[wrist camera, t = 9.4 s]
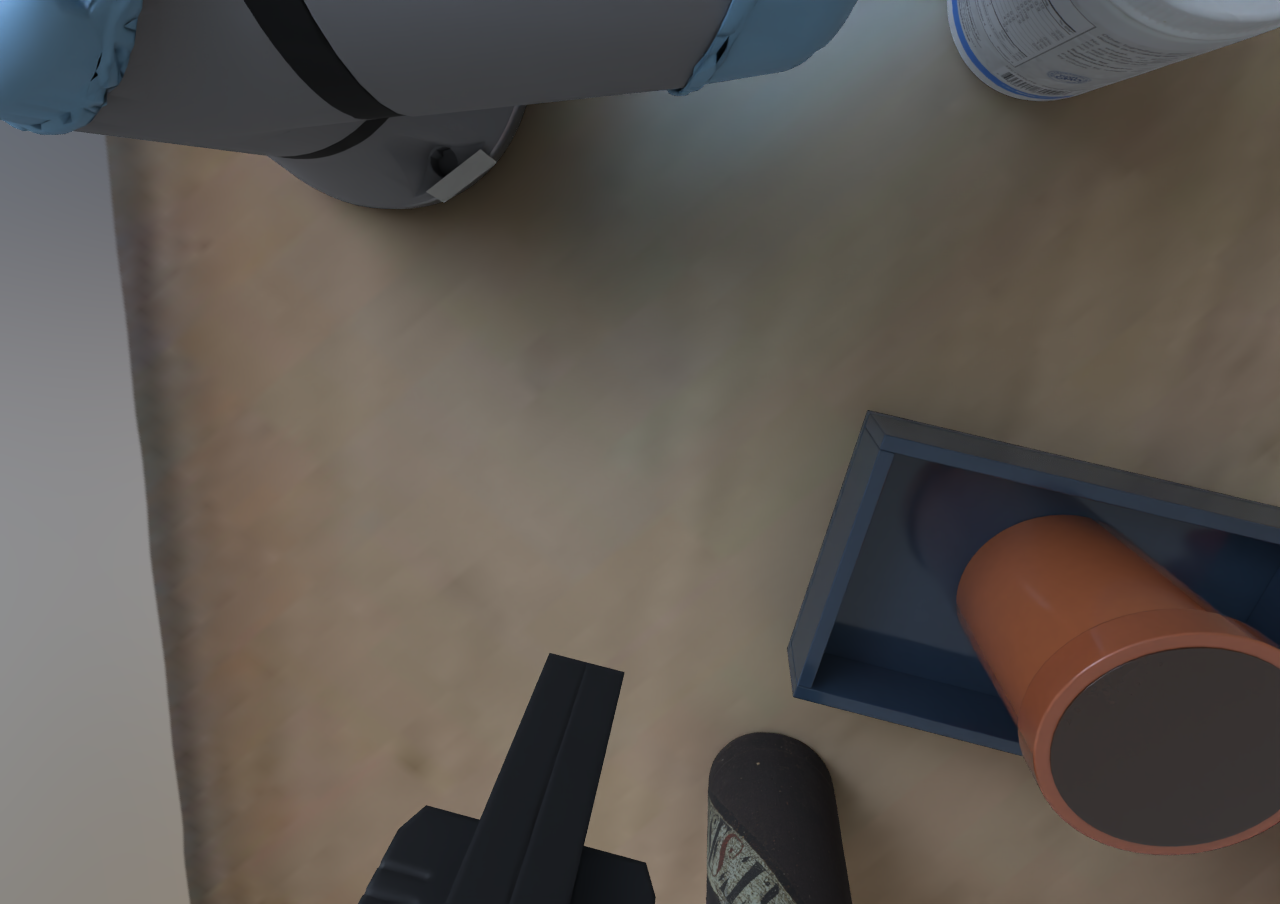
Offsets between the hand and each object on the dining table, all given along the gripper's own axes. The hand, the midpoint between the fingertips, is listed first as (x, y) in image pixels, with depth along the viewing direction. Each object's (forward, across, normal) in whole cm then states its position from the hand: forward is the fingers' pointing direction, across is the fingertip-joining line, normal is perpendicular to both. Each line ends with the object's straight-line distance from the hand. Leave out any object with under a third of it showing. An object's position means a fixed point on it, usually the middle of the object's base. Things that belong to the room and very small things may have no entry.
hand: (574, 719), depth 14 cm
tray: (+26, +22, -6) cm, 35 cm away
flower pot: (+23, +17, -6) cm, 29 cm away
